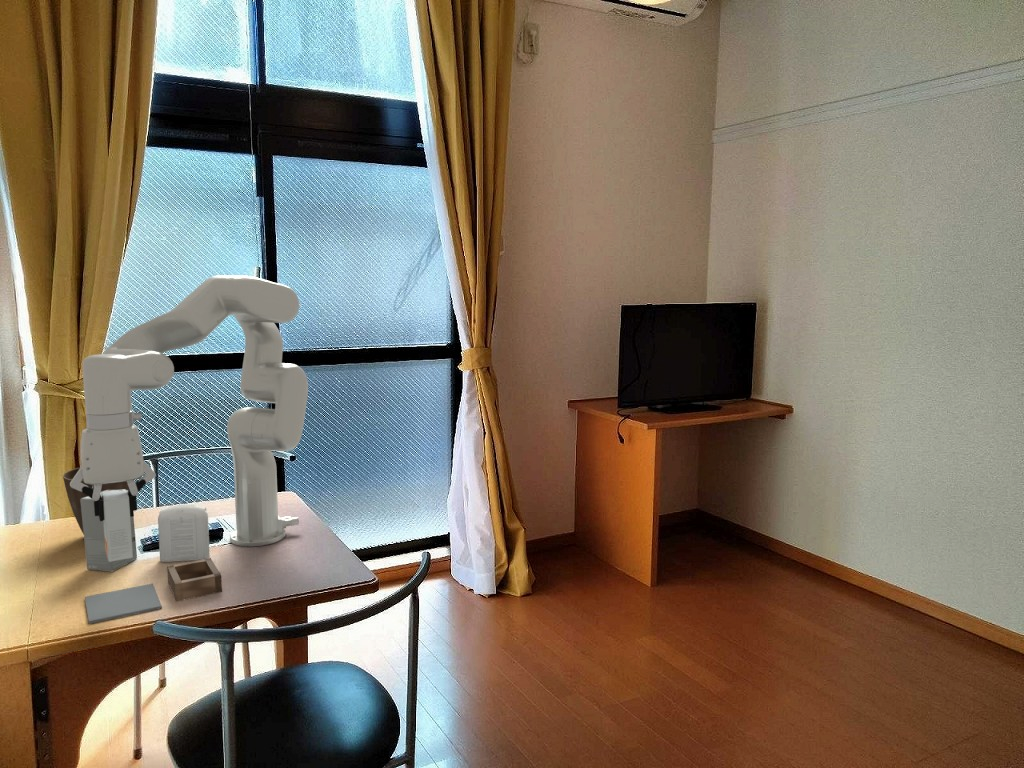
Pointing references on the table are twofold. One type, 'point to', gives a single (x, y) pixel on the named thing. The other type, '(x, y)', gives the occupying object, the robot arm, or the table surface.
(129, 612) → the grey mat
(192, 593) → the frame
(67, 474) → the plant pot
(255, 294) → the robot arm
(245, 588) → the table surface
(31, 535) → the table surface
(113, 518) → the skincare box
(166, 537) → the photo printer
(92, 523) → the skincare box
